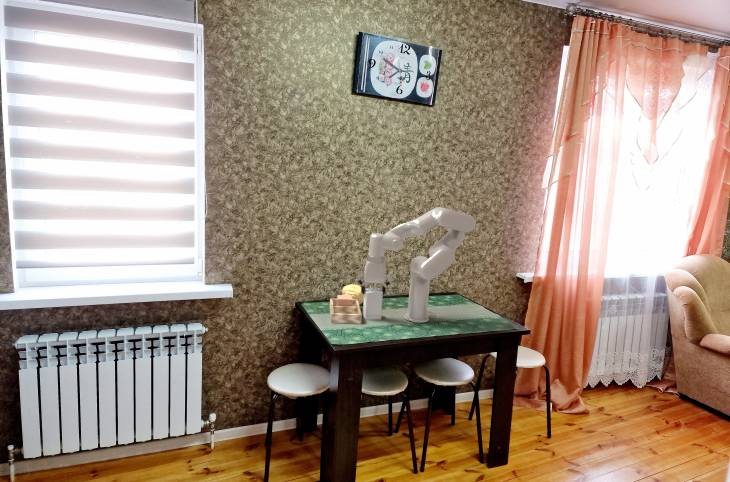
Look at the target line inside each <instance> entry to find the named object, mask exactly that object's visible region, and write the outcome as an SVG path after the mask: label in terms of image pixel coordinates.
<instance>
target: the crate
mask: <svg viewBox="0 0 730 482" xmlns="http://www.w3.org/2000/svg"><path fill="white" fill-rule="evenodd" d="M329 298H330V297H329ZM329 314H330V323H331V324H334V325H337V324H355V325H356V324H357V325H360V324H362V318H363V313H362V312H361V307H360V305H359V303H358V300H357V299H352V307H345V306H337V298H330V299H329Z"/></svg>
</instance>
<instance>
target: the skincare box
mask: <svg viewBox="0 0 730 482" xmlns="http://www.w3.org/2000/svg"><path fill="white" fill-rule="evenodd" d="M383 296H384V295H383V292H382V288H365V290H364V302H363V307H362V308H363V310H362V311H363V312H362V318H364V319H365V320H368V321H369V320H371V321H374V320H377V321H378V320H380V321H381V320H382V313H383V312H382V309H383Z"/></svg>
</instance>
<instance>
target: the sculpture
mask: <svg viewBox="0 0 730 482" xmlns="http://www.w3.org/2000/svg"><path fill="white" fill-rule="evenodd" d="M341 295H351V296H352V299H357V300H358V303H359V306H360V305H362V304H364V294H362V292H361V285H359V284H352V283H351V284H349V285H345V286H344V287H342V293H341Z"/></svg>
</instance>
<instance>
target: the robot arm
mask: <svg viewBox="0 0 730 482" xmlns="http://www.w3.org/2000/svg"><path fill="white" fill-rule="evenodd" d="M476 224H477V223H476V219H475V218H474V216H473V215H472V214H471V215H470V214H468V213H464V212H460V211H455V210H452V209H449V208H447V207H446V208H445V207H443V206H435V207H434V208H433V209H431V210H429V211H427V212H425V213H423V214H421V215H420V216H418V217H416V218H414V219H411V220H410V221H408V222H404V223H402V224H399V225H397V226H395V227H394V228H392V229H390V230H388V231H386V232H385V234H383V233H377V232H375V233H371V234H370V235H369V244H368V245H369V248H368V256H367V257H368V258H367V260H366V262H365V265H364V270H363V273H361V274H358V275H356V276H355V277H356V280H357V282H358V284H360V287H361V292H362V294H364V290H365V289H366V287H365V285H366V284H368V283H369V284H381V285H382V287H381V291H382V292H383V296H385V294H386V289H387V287H389V285H390V284H391V283H392V281H393V278H392V277H391V276H389V275H387V274H386V263H385V262H386V261H388V257H385V253H386V251H391V252H392V251H393V252H397V251H400V250H401V249H402V248H403V247H404V241H403V240H406V239H408V238H410V237H420V236H424V235H425V234H427V233H429V232H431V231H432V230H434V229H436V228H438V227H443V228H447V229H448V231H447V232H446V234H444V235H443V236H442V237H441V238H440V239H439V240H438V241H436V242H435V243H434V244H433V245H431V247H429V249H428V256H429V257H426V256H424V255H417V256H415V257H414V258H413V259H412V260H411V262H410V266H409V270H410V279H409V280H410V281H409V293H408V294H409V295H408V303H407V312H406V313H404V315H403V318H404V319H405V320H406V321H409V322H412V323H421V324H423V323H427V322H429V321H430V317H434V318H435V317H437V312H433V311H429V310H428V305H429V304H428V303H429V294H430V284H431V282H430V281H431V280H434V279H436V278H437V277H438V276H439V275H440V274H442V273H443V272H444V271H445V270H447V269H448V268H449V267H451V265H452V264H453V263H454V261H455V258H456V252H455V250H456V249H457V248H458V247H460V246H461V244H462V243H463V242H464V239H465V233H469V232H472V231H473V230H474V229H475V228H476ZM361 278H363V280H361ZM386 279H387V281H386Z"/></svg>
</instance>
